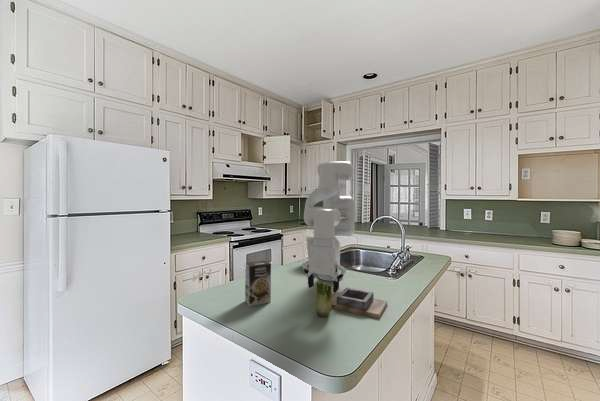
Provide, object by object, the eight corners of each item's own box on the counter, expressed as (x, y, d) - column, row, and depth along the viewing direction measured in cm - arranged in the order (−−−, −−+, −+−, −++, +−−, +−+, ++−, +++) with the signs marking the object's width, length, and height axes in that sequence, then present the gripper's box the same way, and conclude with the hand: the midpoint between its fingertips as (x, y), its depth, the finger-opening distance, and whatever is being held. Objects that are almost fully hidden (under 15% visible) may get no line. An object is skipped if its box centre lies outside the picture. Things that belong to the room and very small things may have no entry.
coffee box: (249, 306, 113) (249, 266, 112) (244, 300, 118) (244, 262, 117) (271, 302, 117) (271, 263, 116) (265, 297, 122) (265, 259, 122)
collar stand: (323, 306, 114) (323, 295, 113) (335, 294, 126) (335, 284, 126) (379, 318, 103) (379, 306, 103) (387, 304, 116) (387, 293, 115)
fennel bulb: (333, 316, 105) (333, 284, 104) (322, 319, 102) (322, 286, 102) (323, 310, 110) (323, 279, 109) (312, 313, 107) (313, 281, 107)
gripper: (298, 241, 105) (297, 288, 106) (342, 246, 97) (342, 296, 98) (307, 239, 112) (306, 282, 112) (349, 243, 104) (349, 290, 104)
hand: (323, 289), depth 105 cm, fingers open, 9 cm apart
